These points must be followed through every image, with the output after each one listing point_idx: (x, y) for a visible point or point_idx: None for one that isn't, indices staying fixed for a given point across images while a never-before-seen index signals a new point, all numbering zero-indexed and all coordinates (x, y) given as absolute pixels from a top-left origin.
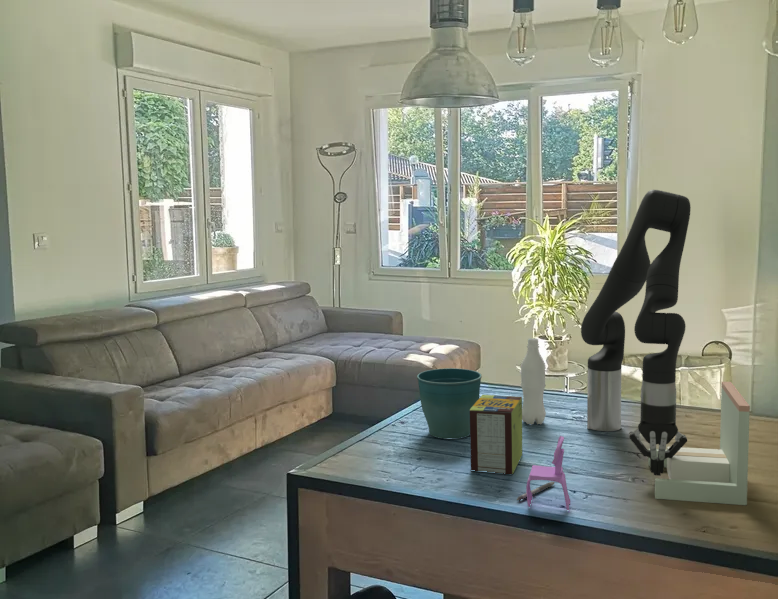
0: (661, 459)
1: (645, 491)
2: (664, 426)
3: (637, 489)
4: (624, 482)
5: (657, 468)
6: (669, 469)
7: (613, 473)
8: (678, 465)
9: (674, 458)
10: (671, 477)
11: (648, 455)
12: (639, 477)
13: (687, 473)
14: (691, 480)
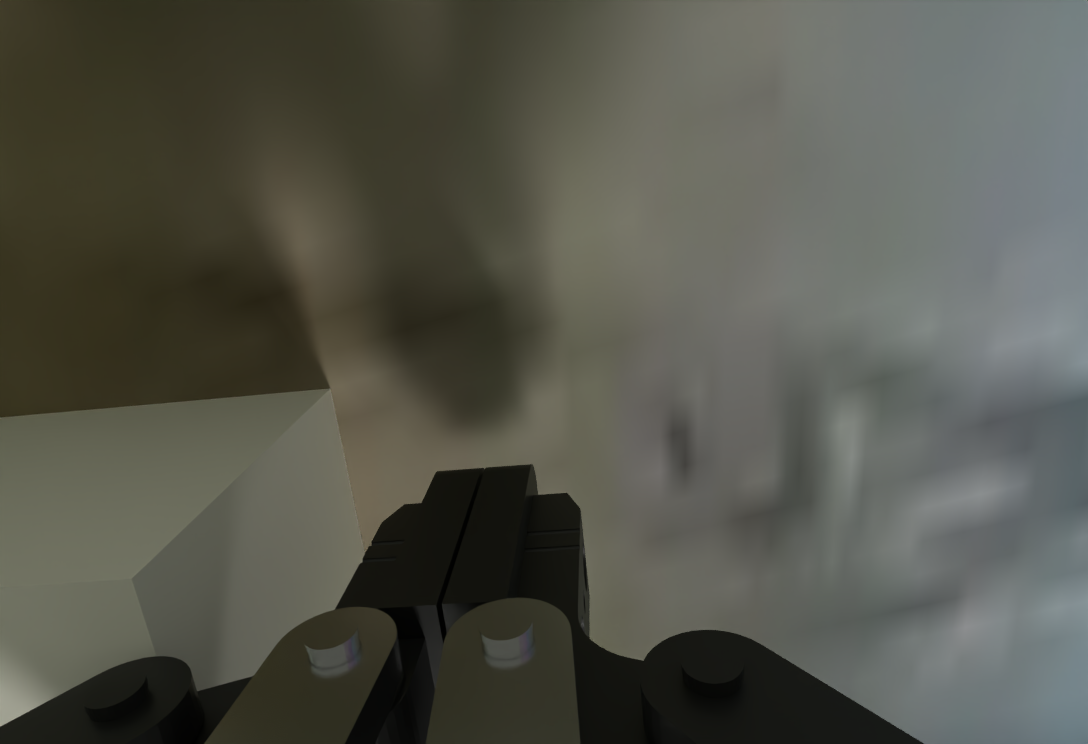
0: (350, 617)
1: (641, 33)
2: None
3: (755, 83)
4: (925, 317)
5: (466, 515)
6: None
7: (1042, 601)
8: (65, 533)
9: None
10: (284, 427)
11: (631, 690)
12: (717, 547)
13: (22, 480)
14: (43, 438)
